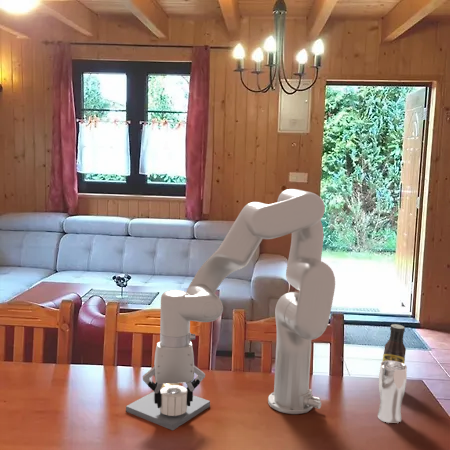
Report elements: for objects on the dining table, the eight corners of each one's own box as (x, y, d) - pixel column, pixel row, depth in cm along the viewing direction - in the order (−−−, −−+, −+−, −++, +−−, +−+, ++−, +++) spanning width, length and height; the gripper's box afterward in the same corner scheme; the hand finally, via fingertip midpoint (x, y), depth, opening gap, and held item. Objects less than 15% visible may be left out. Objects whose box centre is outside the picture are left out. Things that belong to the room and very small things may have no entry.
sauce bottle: (378, 391, 159) (383, 327, 156) (380, 383, 165) (385, 321, 162) (401, 395, 156) (407, 330, 154) (402, 387, 162) (408, 324, 159)
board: (209, 406, 146) (210, 401, 146) (172, 430, 133) (172, 424, 133) (165, 390, 155) (165, 385, 155) (126, 411, 142) (126, 406, 141)
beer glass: (389, 427, 138) (393, 372, 136) (370, 414, 144) (374, 362, 142) (408, 421, 141) (413, 367, 139) (389, 409, 148) (393, 358, 145)
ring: (192, 407, 140) (192, 389, 139) (175, 418, 134) (175, 399, 133) (171, 400, 144) (171, 382, 143) (154, 410, 138) (154, 392, 137)
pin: (179, 411, 139) (180, 392, 138) (173, 415, 137) (174, 395, 136) (172, 409, 141) (172, 389, 140) (166, 412, 139) (167, 392, 138)
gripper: (206, 333, 141) (204, 396, 144) (139, 335, 138) (139, 400, 141) (210, 343, 134) (208, 409, 137) (141, 345, 131) (140, 413, 133)
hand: (173, 404), depth 139 cm, fingers closed on ring, 7 cm apart
